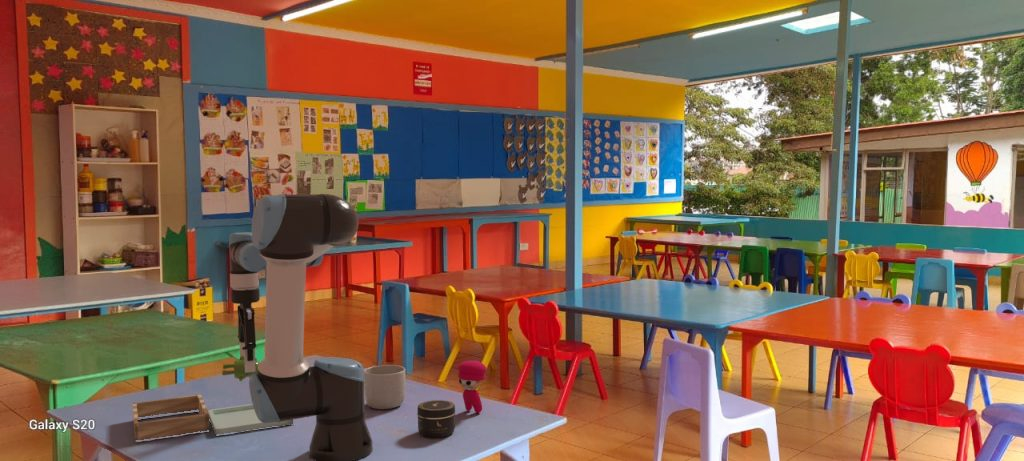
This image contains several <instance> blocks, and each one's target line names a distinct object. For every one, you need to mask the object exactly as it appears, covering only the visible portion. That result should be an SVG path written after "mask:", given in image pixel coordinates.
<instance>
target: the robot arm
mask: <svg viewBox="0 0 1024 461" xmlns="http://www.w3.org/2000/svg"><path fill="white" fill-rule="evenodd" d="M359 224H360V223H359V217H358V213H357V211H356V210H355V208H354V206H352V204H351V203H349V201H347V200H346V199H344V198H343V197H340V196H338V195H334V194H330V193H321V194H318V193H317V194H315V193H314V194H308V193H307V194H302V193H299V194H295V193H294V194H290V193H289V194H288V193H287V194H283V193H279V194H275V195H264V196H263V197H261V198H259V200H258V201H257V203H256V205H255V207H254V210H253V213H252V220H251V231H250V232H234V233H231V234H230V235H229V238H228V239H229V241H228V242H229V244H228V249H229V266H230V273H229V282H230V283H229V285H230V288H232V289H230V301H231V303H232V304H235V305H236V304H238V305H237V307H236V308H237V320H238V323H237V329H238V330H237V332H238V333H237V334H238V335H237V338H238V342H239V358H240V357H241V356H244V361H245V373H248V372H256V370H255V358H256V348H257V341H256V326H255V324H256V323H255V314H256V313H255V309H254V308H253V307H252V304H254V303H257V302H260V299H261V298H260V297H261V296H260V288H259V285H260V281H259V279H261V278H262V275H261V274H259V272H263V271H265V270H266V274H265V275H266V278H265V279H266V280H265V281H266V282H265V284H266V285H265V322H264V324H265V330H264V332H265V333H264V339H265V340H264V358H263V359H262V360H261V361H259V364H258V374H253V375H251V376H250V378H249V380H248V385H249V393H250V398H251V404H253V407H254V410H255V413H256V415H257V418H258V419H259V420H260V421H261V422H262V423H273V422H278V423H280V422H281V421H287V420H293V421H294V420H297V419H303V418H310V417H314V416H315V418H316V419H315V420H316V421H315V422H316V423H315V427H314V431H313V433H312V437H311V441H310V443H309V458H311V459H312V460H314V461H357V460H360V459H363V458H365V457H368V456H369V455H370V454H372V452H373V450H374V449H373V448H374V447H373V439H372V435H371V433H370V430H369V428H368V425H367V422H366V419H365V415H366V414H365V390H364V381H365V380H364V374H363V371H364V367H363V365H362V363H361V362H359V361H358V360H355V359H352V358H346V357H339V356H338V357H336V356H335V357H334V356H326V357H320V358H316V359H315V360H314V362H313V366H310V362H309V361H308V360H307V359H305V358H304V340H305V311H306V310H305V306H306V281H307V280H306V276H307V274H306V273H307V268H311V267H318V266H320V265H321V264H322V262H323V258H324V254H325V253H326V252H328V251H329V250H330V249H333V247H340V246H342V245H345V244H347V243H349V242H350V240H352V239H353V238H354V237H355V236H356V234H357V232H358V230H359Z"/></svg>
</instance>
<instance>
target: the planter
mask: <svg viewBox="0 0 1024 461" xmlns="http://www.w3.org/2000/svg"><path fill="white" fill-rule="evenodd" d="M363 375H364V380H365V381H364V399H365V402H366V405H367V406H369V407H370V408H372V409H376V410H391V409H394V408H395V409H396V408H398V407H399V406H401V405H402V404H403V402H404V400H405V396H406V367H404V366H401V365H398V364H397V365H396V364H382V365H374V366H371V367H370V366H369V367H367V368H365V369H363Z"/></svg>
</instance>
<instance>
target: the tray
mask: <svg viewBox="0 0 1024 461" xmlns="http://www.w3.org/2000/svg"><path fill="white" fill-rule="evenodd" d="M207 410H208V412H209V419H210V421H211V424H212V426H213V429H214V431H213V433H214V432H215V433H214V435H215V434H216V435H217V434H224V433H231V432H241V431H246V430H253V429H259V428H266V427H272V426H283V425H289V424H293V425H294V419H293V420H287V421H281V422H280V423H278V422H273V423H262V422H261V421H260V420H259V419H258V418H257V415H256V413H255V410H254V407H253V403H249V404H248V403H247V404H241V405H240V404H239V405H234V406H227V407H225V406H224V407H218V408H213V409H207ZM210 421H209V422H210ZM211 424H210V425H211ZM212 426H211V427H212ZM213 429H212V430H213Z"/></svg>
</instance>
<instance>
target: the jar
mask: <svg viewBox="0 0 1024 461" xmlns="http://www.w3.org/2000/svg"><path fill="white" fill-rule="evenodd" d="M416 412H417V413H416V415H417V429H418V432H419V434H420V436H422V437H423V438H427V439H443V438H448V437H450V436H451V435H453V433H454V432H455V428H456V405H455V403H454V402H451V401H449V400H443V399H438V400H437V399H434V400H426V401H424V402H421V403H419V404H418V405H417V411H416Z"/></svg>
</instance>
